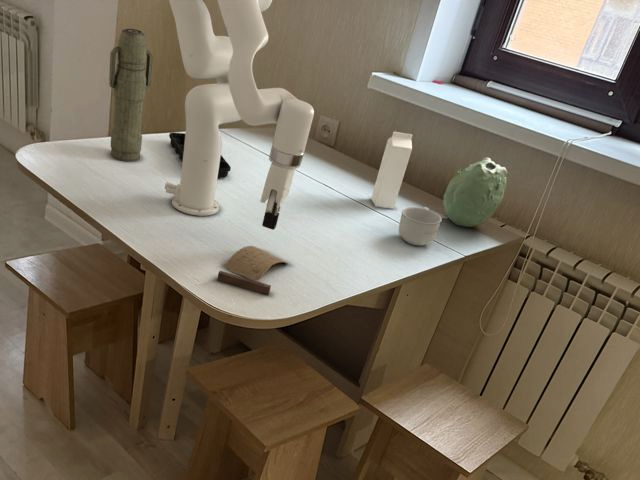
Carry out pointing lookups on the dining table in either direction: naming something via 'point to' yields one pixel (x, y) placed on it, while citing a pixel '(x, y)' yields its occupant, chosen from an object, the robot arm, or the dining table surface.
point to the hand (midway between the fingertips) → (268, 226)
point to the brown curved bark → (251, 262)
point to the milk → (392, 170)
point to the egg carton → (178, 145)
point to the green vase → (475, 193)
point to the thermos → (129, 93)
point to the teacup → (419, 225)
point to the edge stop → (244, 282)
